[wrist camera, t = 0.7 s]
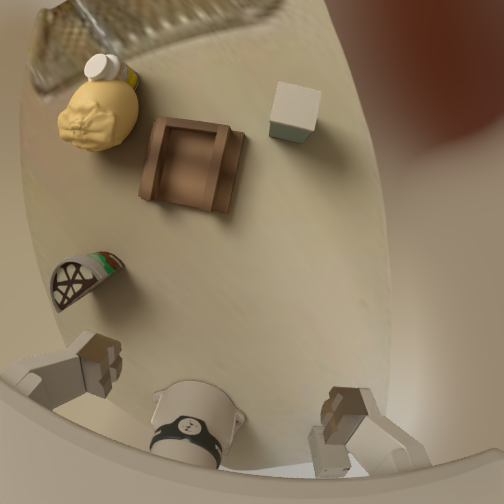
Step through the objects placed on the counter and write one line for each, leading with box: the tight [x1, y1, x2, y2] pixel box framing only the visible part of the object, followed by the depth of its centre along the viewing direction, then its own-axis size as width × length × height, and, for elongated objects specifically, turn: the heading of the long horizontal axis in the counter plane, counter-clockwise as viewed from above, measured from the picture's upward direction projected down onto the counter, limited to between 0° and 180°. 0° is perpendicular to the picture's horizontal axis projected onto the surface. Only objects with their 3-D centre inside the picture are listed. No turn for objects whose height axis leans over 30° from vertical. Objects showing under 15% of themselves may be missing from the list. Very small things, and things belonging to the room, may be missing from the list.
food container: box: [50, 252, 125, 313], centre depth 40 cm, size 12×6×10 cm, turn 122°
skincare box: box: [308, 427, 351, 478], centre depth 45 cm, size 6×4×12 cm
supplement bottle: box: [84, 54, 139, 91], centre depth 34 cm, size 6×6×10 cm
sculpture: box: [58, 79, 139, 152], centre depth 35 cm, size 12×12×11 cm
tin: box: [269, 81, 322, 144], centre depth 35 cm, size 5×5×10 cm
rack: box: [138, 117, 245, 213], centre depth 39 cm, size 12×14×4 cm
